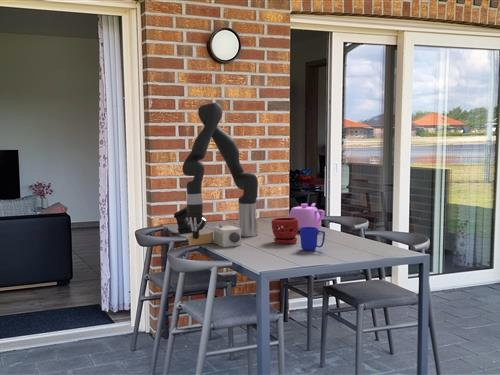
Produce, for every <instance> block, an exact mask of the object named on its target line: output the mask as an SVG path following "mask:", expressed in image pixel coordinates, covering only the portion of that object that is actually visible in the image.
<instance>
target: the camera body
mask: <svg viewBox="0 0 500 375" xmlns="http://www.w3.org/2000/svg"><path fill="white" fill-rule="evenodd" d="M213 243H214V244H217V245H219V246H220V247H223V248H225V247H226V248H227V247H238V246H241V245H242V236H241V229H240V228H239V227H236V226H233V225H222V224H219V225H216V226H213Z"/></svg>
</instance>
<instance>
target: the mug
mask: <svg viewBox="0 0 500 375" xmlns="http://www.w3.org/2000/svg"><path fill="white" fill-rule="evenodd" d="M319 233H321V234H322V241H321V244H320V245H318V236H319V235H318V234H319ZM299 236H300V246H301V247H300V248H301V250H302V251H306V252H307V251H308V252H309V251H315V250H316V249H317V248H322V247H323V246H324V244H325V238H326V231H323V230H319V229H318V228H315V227H302V228H300V231H299Z"/></svg>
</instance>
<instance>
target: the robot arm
mask: <svg viewBox="0 0 500 375" xmlns="http://www.w3.org/2000/svg"><path fill="white" fill-rule="evenodd" d="M197 114H198V117H199V120H200V122H201V123H202V124H203V126H204V127H203V128H202V129H201V131H199V133H198V135H197V136H196V137H195V139H194V142H193V144H192V147H191V151H190V153H188V155H187V157H186V159H185V160H184V162H183V164H182V168H181V170H182V173H183V175H185V176H186V177H187V176H188V177H193V179H192V180H189V181H187V183H186V207H187V213H188V215H187V218H186V219H184V220H183V221H184V223H185V224H186V226H187V227H188V229H189V230H192V232H193V233H192V235H193V238H194V239H198V237H199V234H200V231H201V230H203V229H204V227H205V226H206V225H207V223H208V219H205V218H204V215H203V213H204V209H203V207H204V206H203V193H202V183H203V179H204V174H205V165H204V163H203V162H202V160H204V158H205V157H206V154H207V151H208V147H209V145H210V142H211V139H212V140H213V142H214V143H215V146H216V148H217V150H218V151H219V154H220V156H221V157H222V158H223V160H224V162H225V164H226V165H227V168H228V169H229V172H230V174H231V177H232V180H233V182H234V184H235V186H236V187H237V188H238V189H239V190H241V191H242V195H241V196H240V197H239V198H238V228H240V229H241V237H255V236H258V229H259V228H258V217H257V198H258V187H259V186H258V185H259V182H258V177H257V175H256V174H255V173H252V172H245V170H244V169H243V168H244V167H242V165H241V162H240V150H239V147H238V145H237V144H236V142H235V140H234V138H233V137H232V136H231V135H229V133H227V132H226V131H225V130H223V129H222V128H221V127H220V126H219V123H220V121H221V119H222V116H223V108H222V106H221V105H220V104H219V103H218V102H210V103H206V104H202V105H200V106H199V107H198V110H197Z"/></svg>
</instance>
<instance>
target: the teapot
mask: <svg viewBox="0 0 500 375" xmlns="http://www.w3.org/2000/svg"><path fill="white" fill-rule="evenodd" d="M315 206H316V202H313V203H312V204H311V205H310V206H309V205H308V203H301V204H300V206H294V207H292V208H291V210H290V211H289V214H288V218H297V219H298V232H300V228H302V227H315V228H318V230H319V229H320V228H321V226H322V220H323V219H324V217H325V215H326V211H325V210H323V209H318V208H317V207H315Z"/></svg>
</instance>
